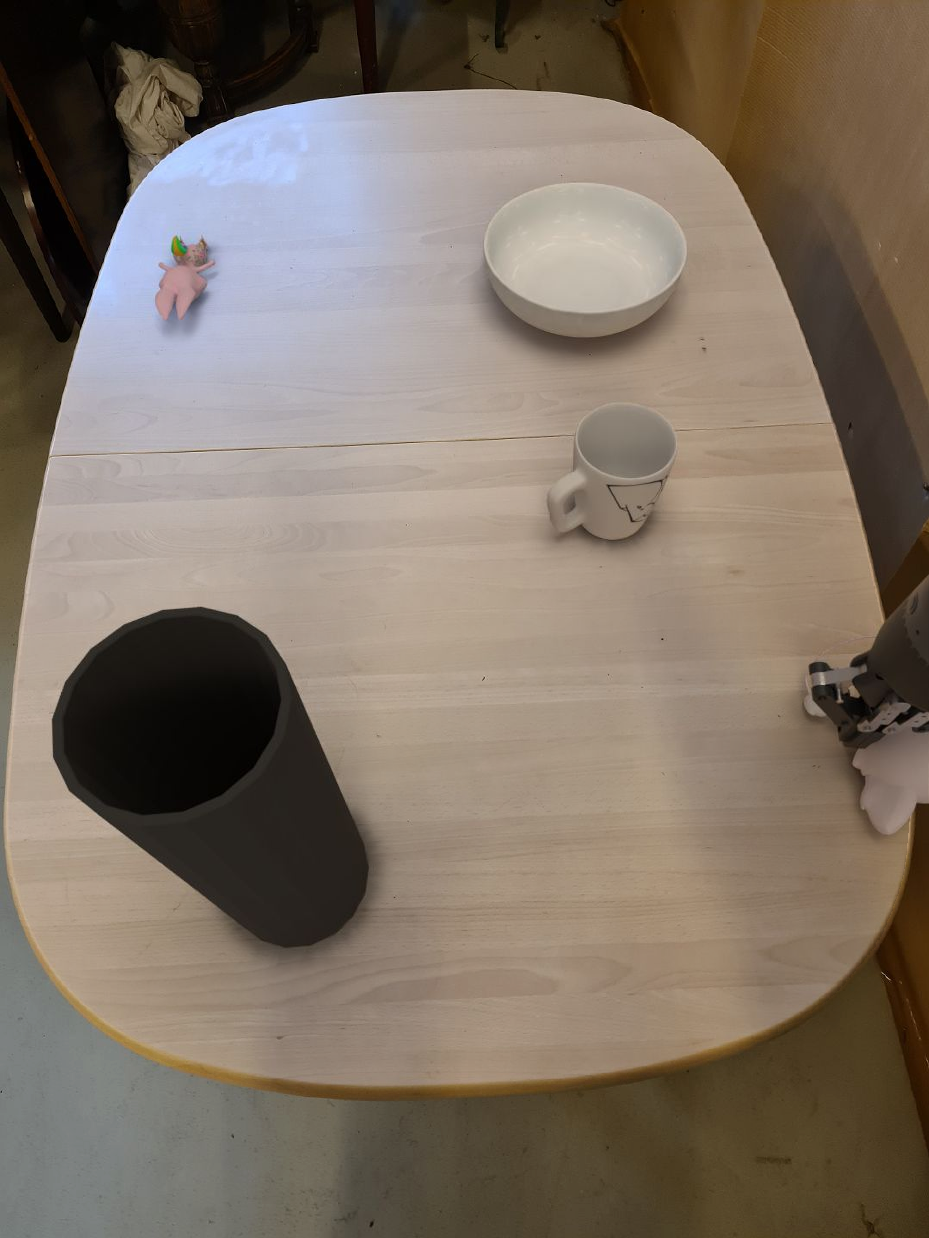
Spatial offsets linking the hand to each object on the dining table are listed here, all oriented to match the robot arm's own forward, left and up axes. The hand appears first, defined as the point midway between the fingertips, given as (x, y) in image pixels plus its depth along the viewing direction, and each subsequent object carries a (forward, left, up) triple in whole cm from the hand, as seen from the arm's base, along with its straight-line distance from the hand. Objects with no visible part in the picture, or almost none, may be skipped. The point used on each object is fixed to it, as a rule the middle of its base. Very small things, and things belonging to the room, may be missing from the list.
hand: (851, 736), depth 64 cm
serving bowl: (+45, -32, -4) cm, 55 cm away
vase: (+27, +32, -4) cm, 42 cm away
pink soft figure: (+80, -7, -4) cm, 81 cm away
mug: (+27, -8, -4) cm, 28 cm away
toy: (-3, -2, -4) cm, 5 cm away
